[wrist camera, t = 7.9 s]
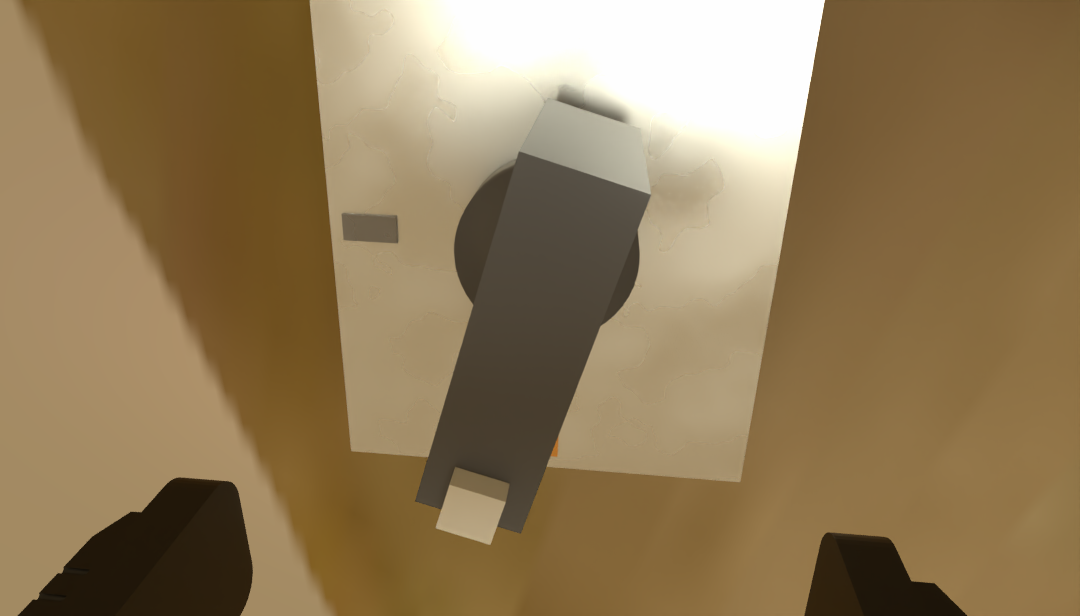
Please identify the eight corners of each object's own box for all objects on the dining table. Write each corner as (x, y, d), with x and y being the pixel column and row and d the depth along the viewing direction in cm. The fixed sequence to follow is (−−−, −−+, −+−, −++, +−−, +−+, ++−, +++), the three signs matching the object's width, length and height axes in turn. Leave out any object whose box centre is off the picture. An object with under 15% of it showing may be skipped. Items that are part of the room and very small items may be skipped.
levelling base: (819, -146, 19) (890, -188, 14) (727, 430, 27) (753, 535, 22) (336, -156, 20) (245, -198, 15) (376, 404, 28) (325, 498, 23)
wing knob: (505, 73, 19) (438, 134, 12) (685, 132, 20) (727, 228, 12) (434, 331, 23) (348, 501, 15) (588, 379, 23) (575, 570, 16)
